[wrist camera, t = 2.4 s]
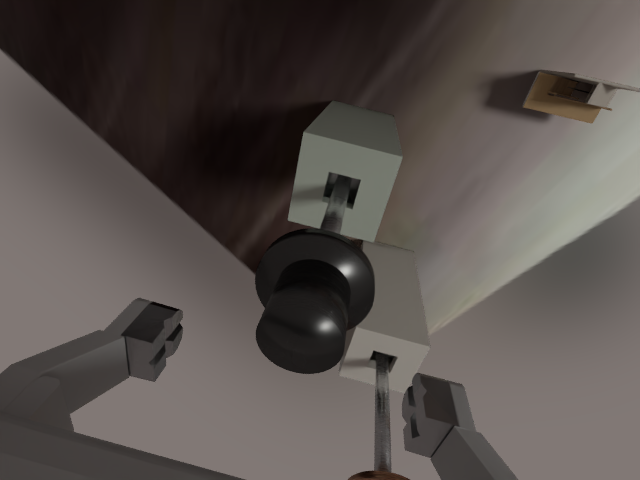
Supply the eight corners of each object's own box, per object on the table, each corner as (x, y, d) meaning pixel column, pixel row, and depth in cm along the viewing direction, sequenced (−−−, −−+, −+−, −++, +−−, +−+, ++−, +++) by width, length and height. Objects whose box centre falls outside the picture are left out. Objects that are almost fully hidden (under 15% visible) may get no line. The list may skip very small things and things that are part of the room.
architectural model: (575, 117, 36) (618, 132, 29) (510, 102, 36) (538, 113, 29) (594, 82, 34) (645, 89, 27) (526, 66, 34) (560, 70, 28)
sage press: (393, 115, 38) (402, 156, 23) (375, 174, 41) (373, 242, 27) (332, 100, 38) (303, 131, 23) (320, 160, 41) (287, 220, 27)
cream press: (413, 251, 46) (430, 346, 31) (397, 291, 49) (405, 393, 34) (363, 238, 46) (356, 326, 31) (350, 278, 49) (338, 375, 35)
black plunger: (385, 153, 26) (394, 307, 11) (366, 212, 29) (351, 405, 13) (320, 137, 27) (234, 265, 11) (308, 197, 29) (224, 370, 13)
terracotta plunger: (414, 325, 34) (444, 561, 18) (397, 359, 37) (411, 591, 21) (364, 312, 34) (352, 535, 19) (351, 347, 37) (330, 568, 21)
